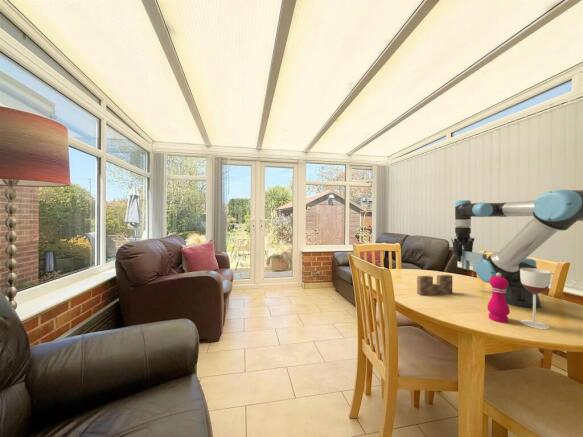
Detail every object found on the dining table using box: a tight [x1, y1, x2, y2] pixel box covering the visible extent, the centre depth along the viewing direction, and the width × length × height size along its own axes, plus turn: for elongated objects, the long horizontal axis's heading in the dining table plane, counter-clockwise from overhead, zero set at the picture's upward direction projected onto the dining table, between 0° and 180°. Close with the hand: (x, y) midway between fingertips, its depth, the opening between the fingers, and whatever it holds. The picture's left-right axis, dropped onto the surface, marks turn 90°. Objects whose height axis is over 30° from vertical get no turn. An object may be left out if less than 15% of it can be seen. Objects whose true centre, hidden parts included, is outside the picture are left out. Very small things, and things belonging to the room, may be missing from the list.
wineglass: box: [519, 268, 552, 330], centre depth 97 cm, size 9×10×22 cm
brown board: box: [416, 274, 453, 296], centre depth 135 cm, size 20×2×10 cm, turn 99°
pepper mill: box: [486, 273, 511, 324], centre depth 102 cm, size 7×7×20 cm
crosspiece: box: [456, 249, 488, 273], centre depth 135 cm, size 16×2×10 cm, turn 9°
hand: (462, 266), depth 140 cm, fingers closed on crosspiece, 2 cm apart
